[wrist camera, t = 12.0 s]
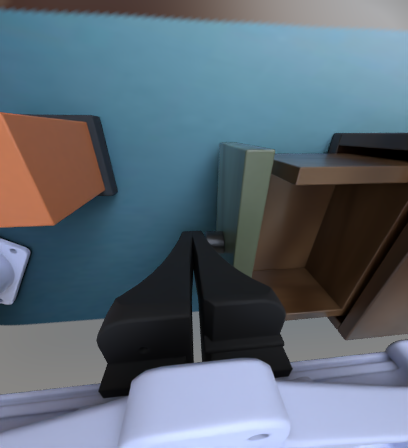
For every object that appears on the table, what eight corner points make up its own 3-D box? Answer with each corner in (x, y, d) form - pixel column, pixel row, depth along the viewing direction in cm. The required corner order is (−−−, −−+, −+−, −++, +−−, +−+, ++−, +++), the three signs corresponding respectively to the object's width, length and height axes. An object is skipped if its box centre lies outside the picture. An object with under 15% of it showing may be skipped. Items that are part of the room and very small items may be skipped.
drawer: (202, 276, 17) (208, 336, 12) (201, 142, 11) (214, 149, 6) (301, 270, 18) (345, 323, 13) (348, 142, 12) (463, 148, 7)
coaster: (50, 193, 13) (40, 197, 12) (15, 115, 10) (0, 114, 10) (117, 191, 13) (113, 195, 12) (99, 116, 11) (92, 115, 10)
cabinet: (289, 268, 19) (344, 341, 12) (333, 133, 13) (496, 132, 6) (374, 263, 20) (468, 327, 13) (455, 133, 14) (715, 133, 7)
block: (43, 191, 12) (-53, 230, 7) (10, 121, 10) (-153, 109, 5) (105, 189, 12) (54, 226, 7) (86, 122, 10) (0, 112, 5)
